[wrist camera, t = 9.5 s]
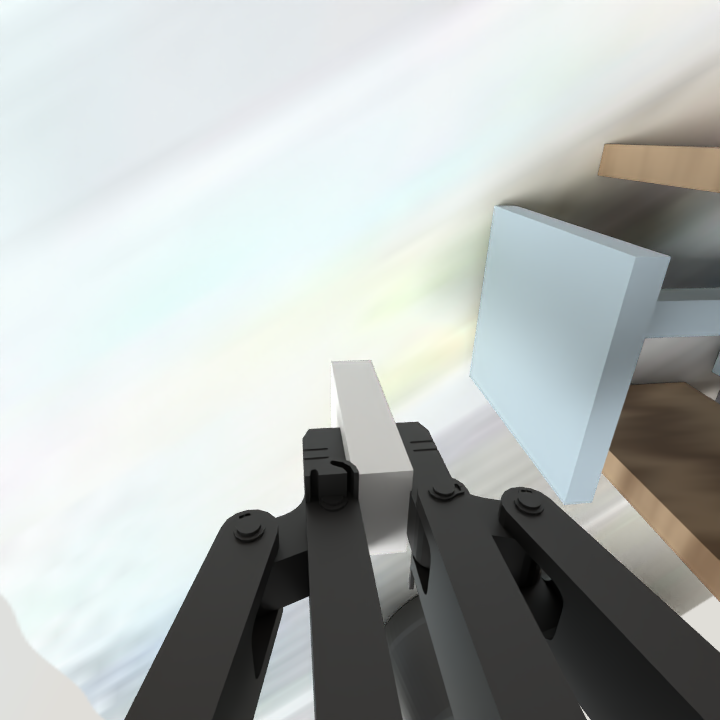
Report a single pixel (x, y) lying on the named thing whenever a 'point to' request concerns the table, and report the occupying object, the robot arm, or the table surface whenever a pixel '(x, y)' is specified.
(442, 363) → the table surface
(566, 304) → the plunger
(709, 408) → the tunnel
